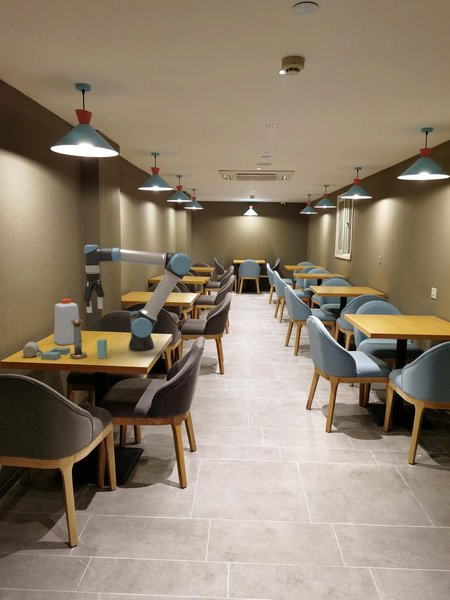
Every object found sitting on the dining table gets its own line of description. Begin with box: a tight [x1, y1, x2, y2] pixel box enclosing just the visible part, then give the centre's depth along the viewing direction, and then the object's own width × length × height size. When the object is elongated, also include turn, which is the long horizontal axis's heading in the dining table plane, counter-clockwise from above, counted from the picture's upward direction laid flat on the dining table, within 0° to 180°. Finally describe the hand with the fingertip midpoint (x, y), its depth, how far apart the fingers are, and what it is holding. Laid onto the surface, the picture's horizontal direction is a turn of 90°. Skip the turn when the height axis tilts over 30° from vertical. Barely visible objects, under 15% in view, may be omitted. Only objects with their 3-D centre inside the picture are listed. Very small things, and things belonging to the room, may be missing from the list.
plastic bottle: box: [53, 298, 83, 346], centre depth 294 cm, size 15×15×28 cm
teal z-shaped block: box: [40, 346, 72, 361], centre depth 264 cm, size 9×16×3 cm, turn 171°
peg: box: [96, 338, 108, 359], centre depth 260 cm, size 4×4×10 cm
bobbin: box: [69, 319, 88, 360], centre depth 260 cm, size 9×9×21 cm
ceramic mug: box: [22, 341, 45, 358], centre depth 263 cm, size 11×8×8 cm
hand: (95, 310), depth 258 cm, fingers open, 13 cm apart
